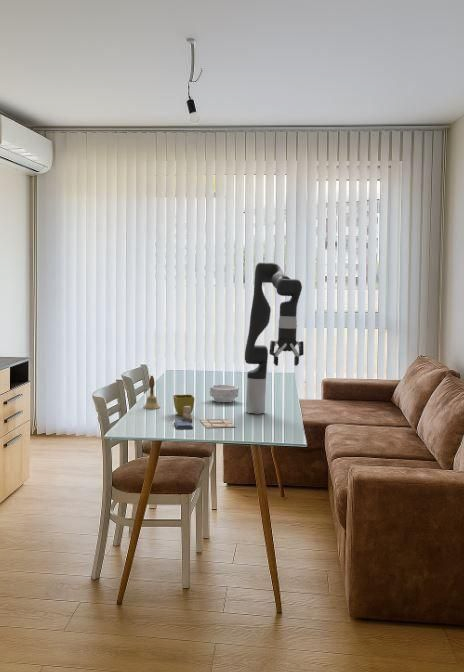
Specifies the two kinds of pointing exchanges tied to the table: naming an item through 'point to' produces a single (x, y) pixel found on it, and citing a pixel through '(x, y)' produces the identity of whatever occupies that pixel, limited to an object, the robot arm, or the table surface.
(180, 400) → the flower pot
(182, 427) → the ink pad
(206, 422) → the sheet
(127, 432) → the table surface
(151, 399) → the hand bell
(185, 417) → the stamp
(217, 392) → the stone bowl
